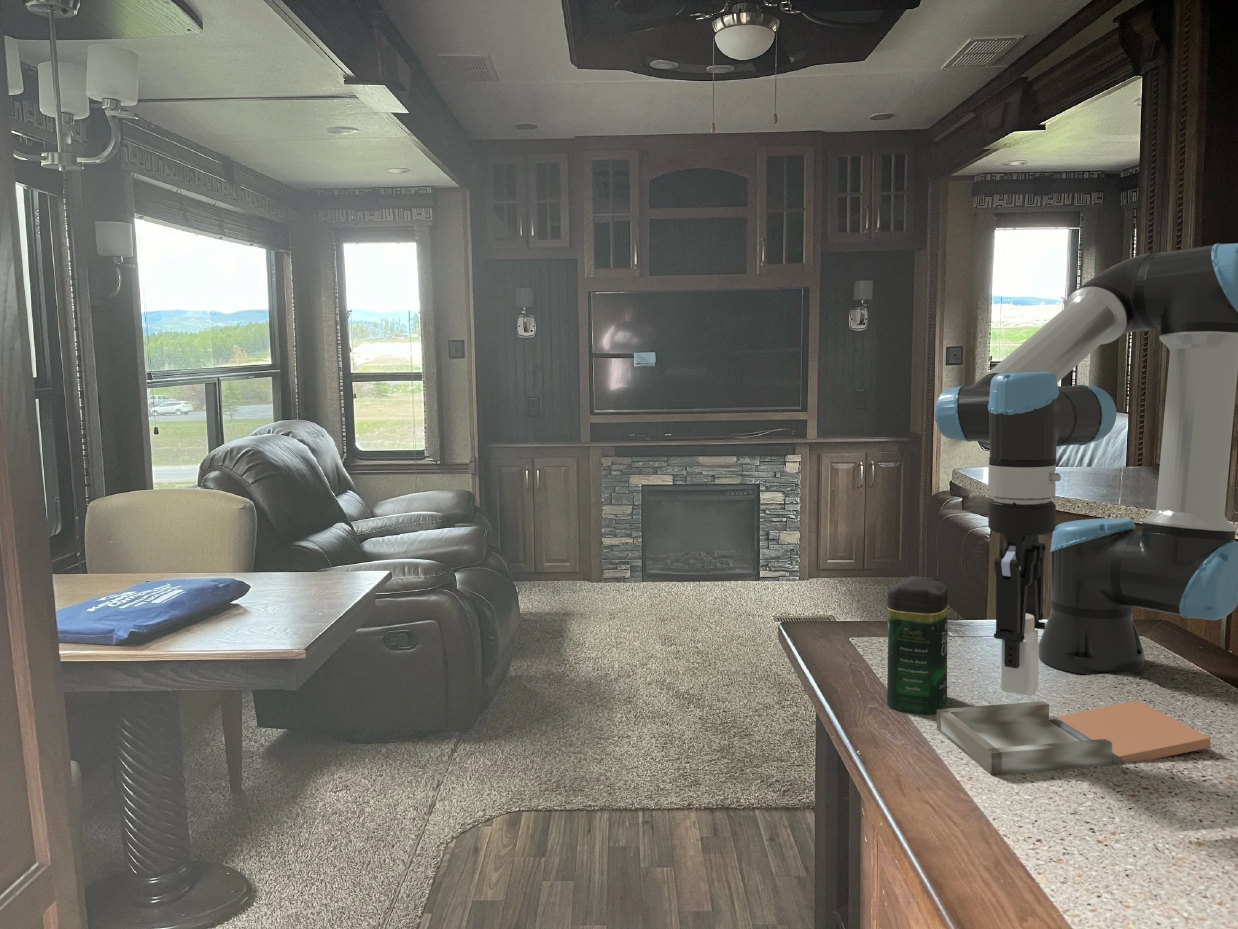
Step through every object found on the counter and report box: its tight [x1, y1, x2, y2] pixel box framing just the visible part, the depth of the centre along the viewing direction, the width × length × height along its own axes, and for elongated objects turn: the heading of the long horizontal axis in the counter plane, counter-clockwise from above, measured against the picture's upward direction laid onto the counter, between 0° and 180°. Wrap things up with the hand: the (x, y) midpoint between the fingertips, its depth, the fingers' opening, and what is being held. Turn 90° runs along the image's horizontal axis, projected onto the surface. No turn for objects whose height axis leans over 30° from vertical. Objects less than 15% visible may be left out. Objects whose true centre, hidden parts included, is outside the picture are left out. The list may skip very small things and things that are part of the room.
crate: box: [936, 700, 1113, 776], centre depth 113 cm, size 15×14×4 cm
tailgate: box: [1049, 700, 1212, 764], centre depth 115 cm, size 1×13×13 cm
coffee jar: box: [886, 575, 949, 716], centre depth 129 cm, size 10×8×19 cm
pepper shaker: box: [1000, 613, 1040, 697], centre depth 112 cm, size 4×4×10 cm
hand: (1019, 685), depth 113 cm, fingers closed on pepper shaker, 4 cm apart
